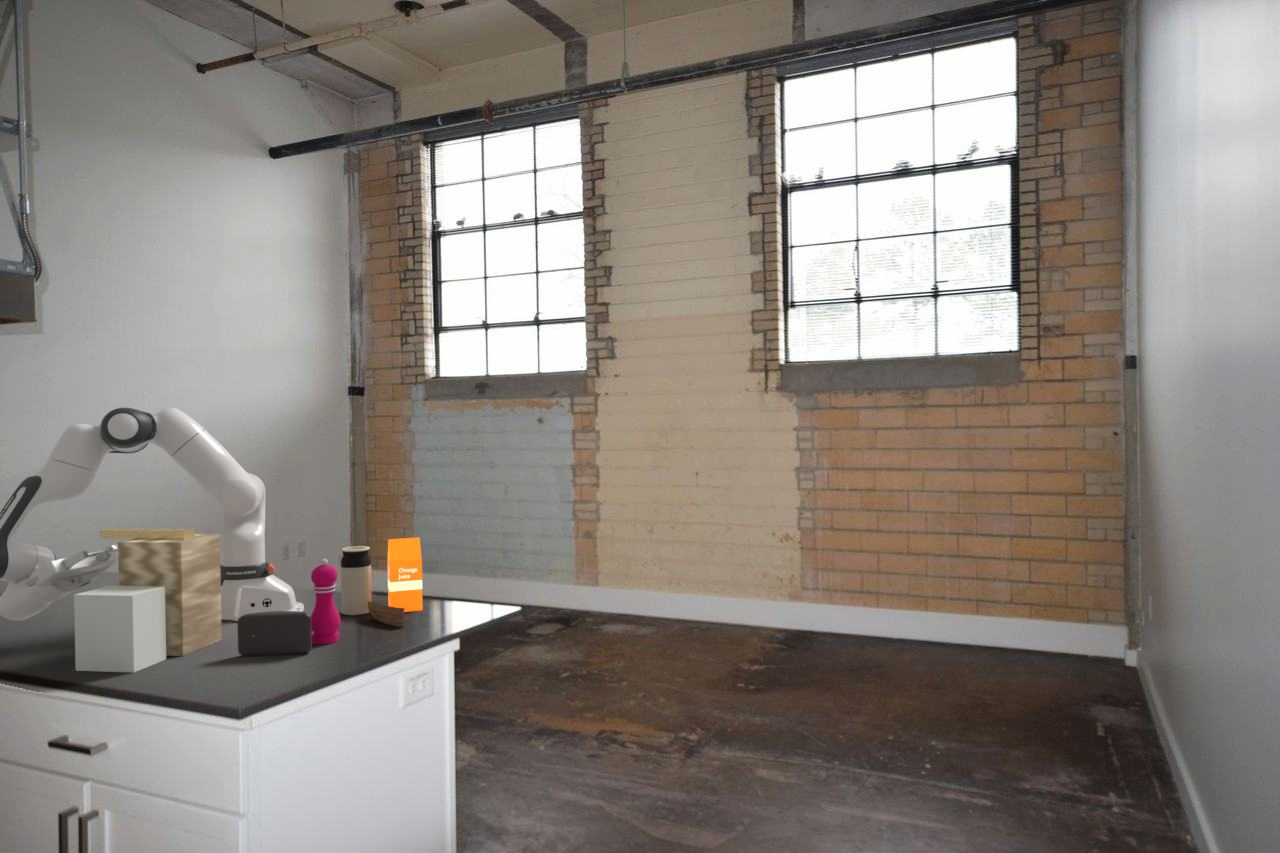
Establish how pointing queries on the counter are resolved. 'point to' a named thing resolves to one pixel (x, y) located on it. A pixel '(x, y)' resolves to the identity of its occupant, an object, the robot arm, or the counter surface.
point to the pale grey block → (120, 628)
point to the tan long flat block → (146, 533)
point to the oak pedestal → (179, 585)
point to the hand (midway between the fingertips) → (100, 550)
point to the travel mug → (355, 580)
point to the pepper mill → (324, 605)
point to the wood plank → (387, 614)
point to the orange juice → (405, 574)
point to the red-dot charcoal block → (274, 633)
